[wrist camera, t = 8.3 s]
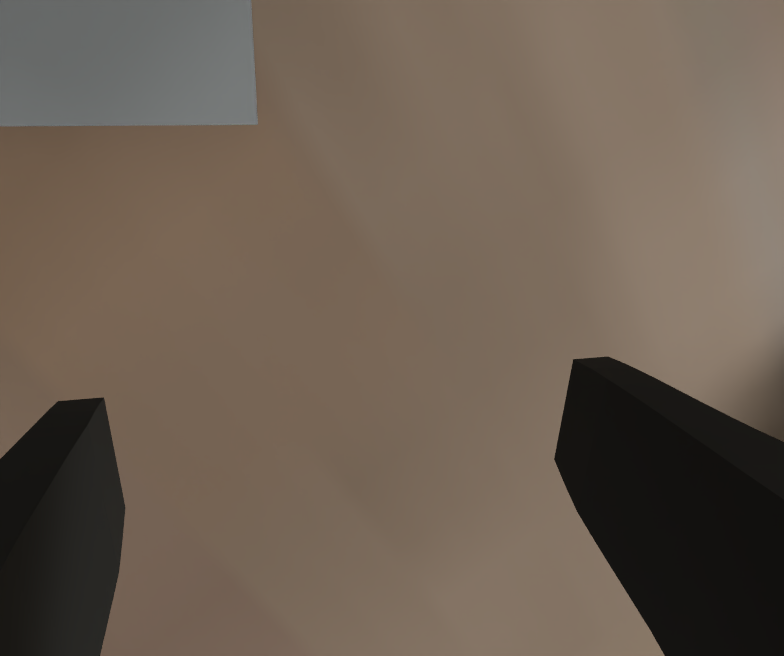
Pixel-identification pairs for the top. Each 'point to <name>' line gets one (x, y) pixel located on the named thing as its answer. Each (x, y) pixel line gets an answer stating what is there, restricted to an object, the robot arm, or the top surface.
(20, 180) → the top surface
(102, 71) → the board
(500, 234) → the top surface
